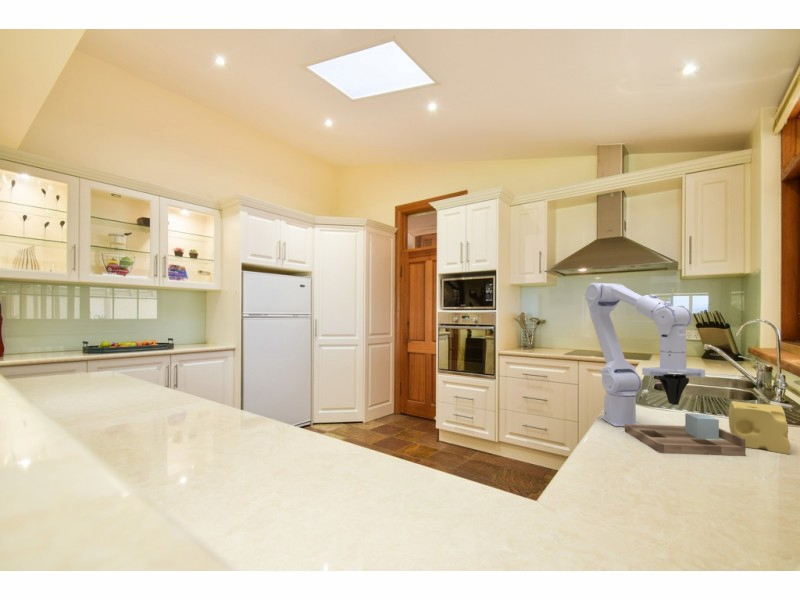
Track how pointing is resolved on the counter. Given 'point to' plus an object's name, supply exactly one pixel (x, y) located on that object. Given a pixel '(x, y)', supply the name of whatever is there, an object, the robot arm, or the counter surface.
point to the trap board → (686, 440)
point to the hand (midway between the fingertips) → (673, 403)
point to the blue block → (702, 426)
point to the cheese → (760, 426)
